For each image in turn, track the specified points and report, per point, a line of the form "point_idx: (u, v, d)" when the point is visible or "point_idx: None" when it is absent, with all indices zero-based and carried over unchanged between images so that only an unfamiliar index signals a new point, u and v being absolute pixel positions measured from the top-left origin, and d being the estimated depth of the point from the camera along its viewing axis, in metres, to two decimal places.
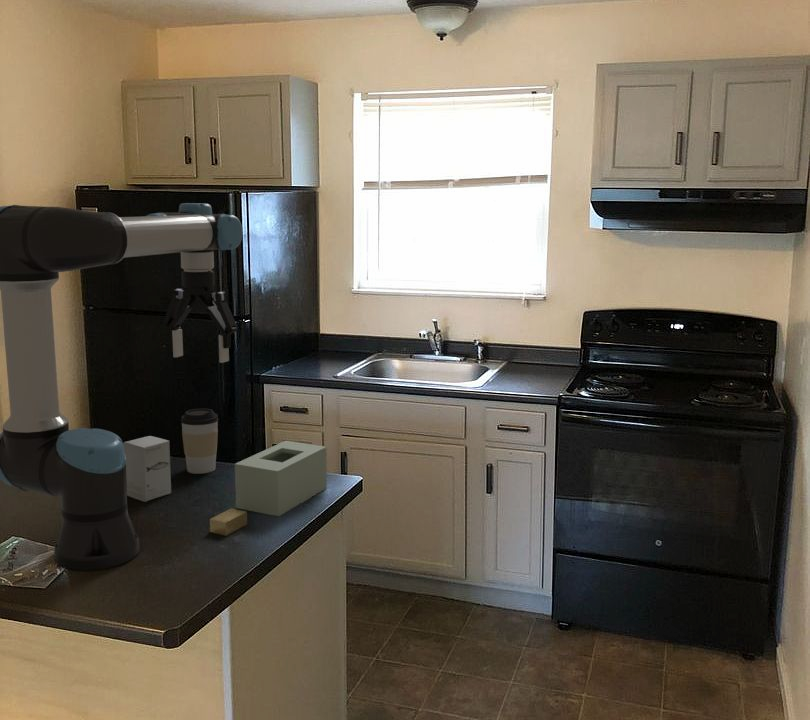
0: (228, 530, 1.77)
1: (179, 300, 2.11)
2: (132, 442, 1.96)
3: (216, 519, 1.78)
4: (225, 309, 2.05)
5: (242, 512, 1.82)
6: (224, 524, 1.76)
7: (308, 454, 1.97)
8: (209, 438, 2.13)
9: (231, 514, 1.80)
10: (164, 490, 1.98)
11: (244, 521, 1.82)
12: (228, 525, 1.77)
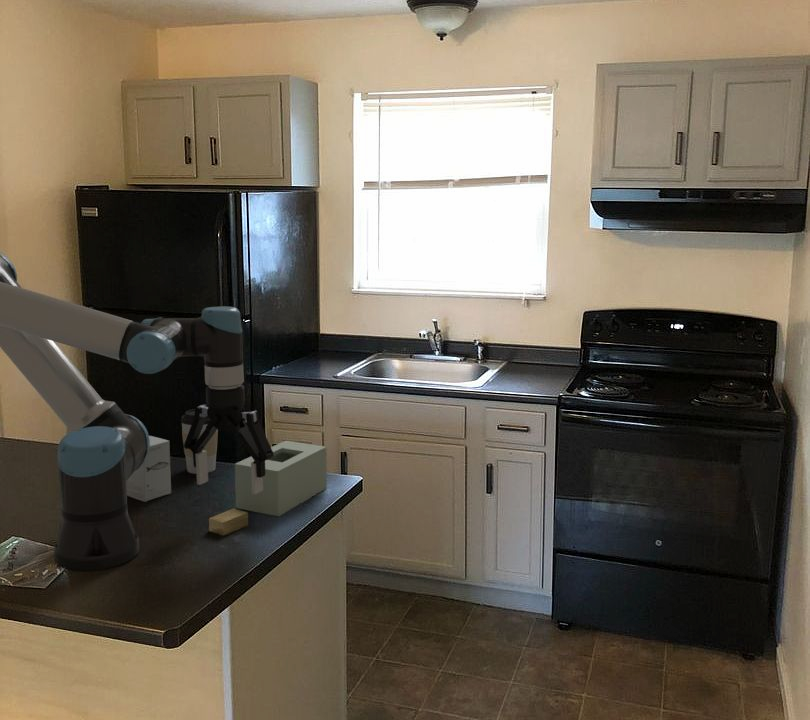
0: (226, 530, 1.77)
1: (203, 418, 1.79)
2: None
3: (215, 518, 1.78)
4: (258, 432, 1.73)
5: (243, 513, 1.81)
6: (222, 524, 1.76)
7: (308, 454, 1.97)
8: None
9: (231, 514, 1.80)
10: (164, 490, 1.98)
11: (244, 522, 1.81)
12: (226, 525, 1.77)
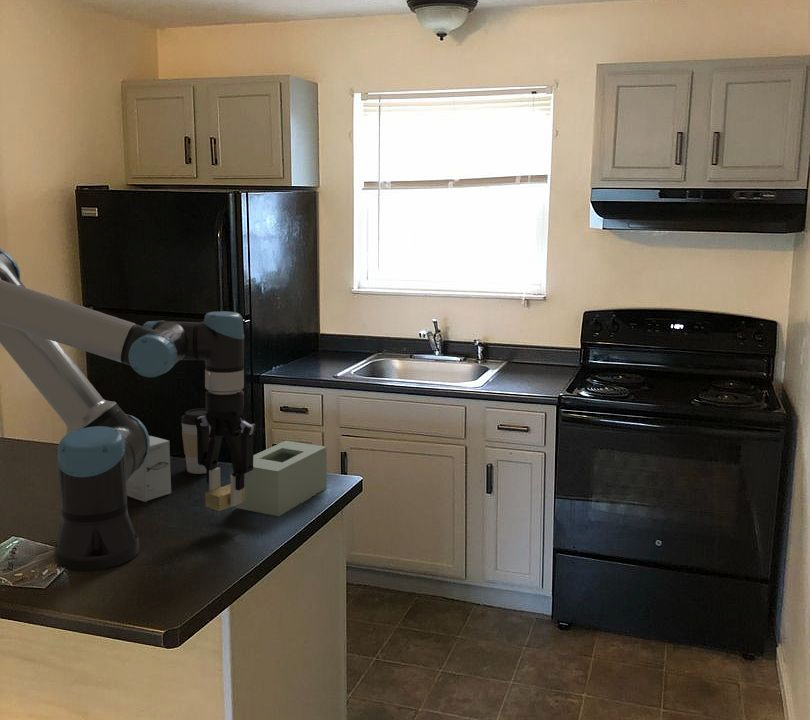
0: (222, 505, 1.76)
1: (206, 428, 1.79)
2: None
3: (211, 493, 1.77)
4: (248, 446, 1.74)
5: None
6: (218, 498, 1.75)
7: (308, 454, 1.97)
8: (209, 438, 2.13)
9: (228, 489, 1.79)
10: (164, 490, 1.98)
11: None
12: (222, 499, 1.76)
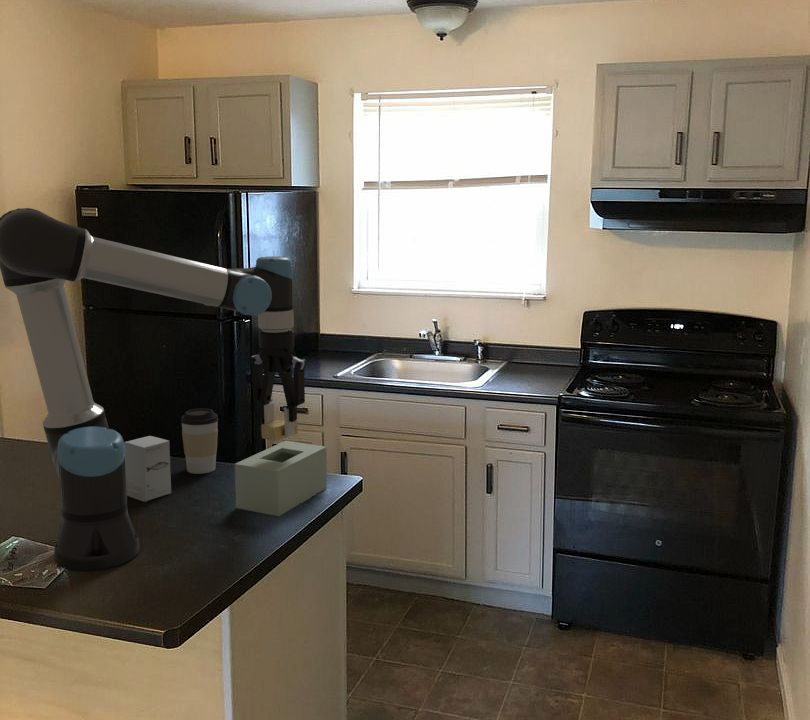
0: (277, 435, 1.91)
1: (259, 366, 1.93)
2: (132, 442, 1.96)
3: (267, 425, 1.91)
4: (300, 380, 1.88)
5: None
6: (273, 429, 1.90)
7: (308, 454, 1.97)
8: (209, 438, 2.13)
9: (282, 422, 1.94)
10: (164, 490, 1.98)
11: None
12: (277, 430, 1.90)
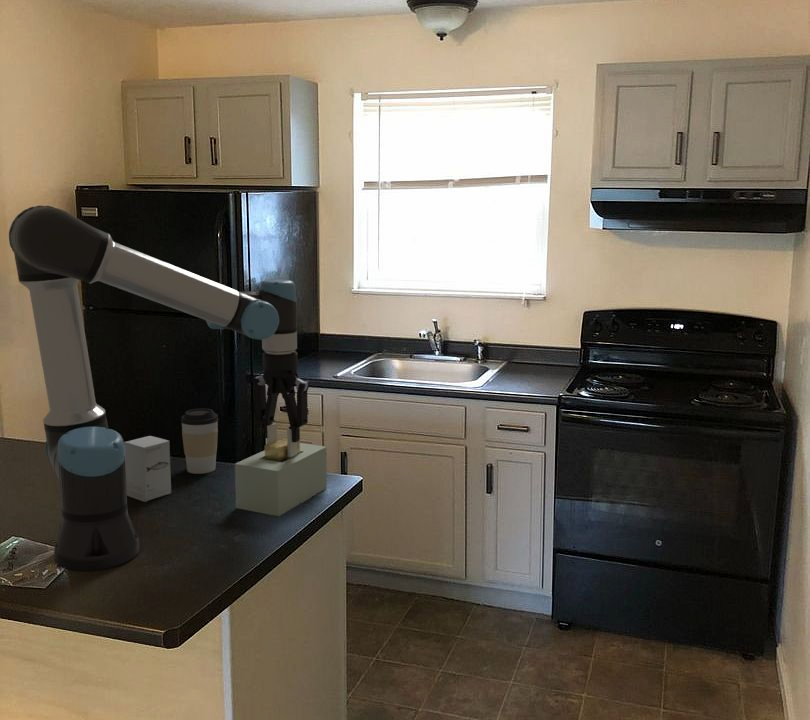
0: (281, 456, 1.93)
1: (263, 387, 1.96)
2: (132, 442, 1.96)
3: (270, 445, 1.94)
4: (303, 401, 1.91)
5: None
6: (276, 449, 1.92)
7: (308, 454, 1.97)
8: (209, 438, 2.13)
9: (284, 442, 1.96)
10: (164, 490, 1.98)
11: None
12: (280, 450, 1.93)
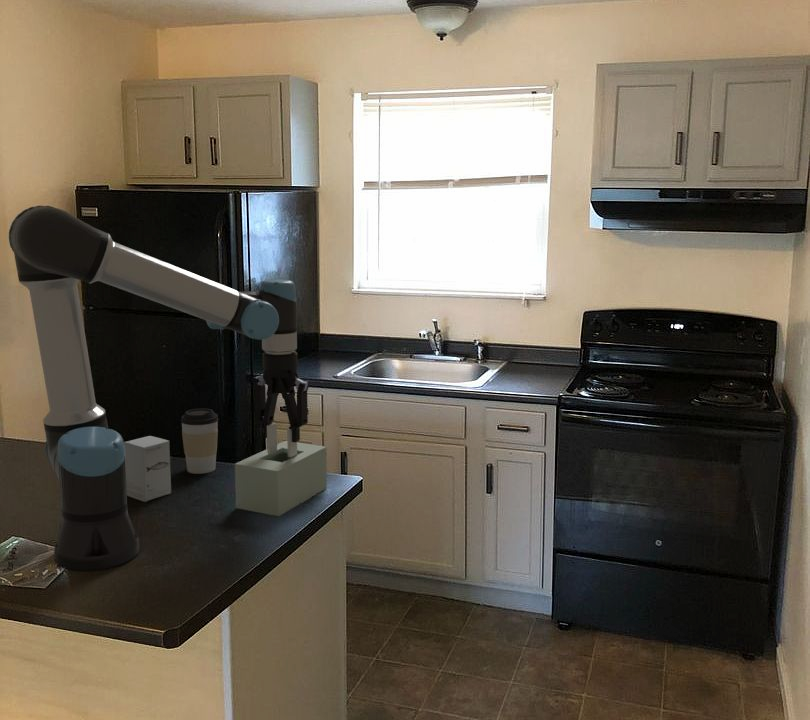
0: None
1: (263, 387, 1.96)
2: (132, 442, 1.96)
3: None
4: (303, 401, 1.91)
5: None
6: None
7: (308, 454, 1.97)
8: (209, 438, 2.13)
9: None
10: (164, 490, 1.98)
11: None
12: None
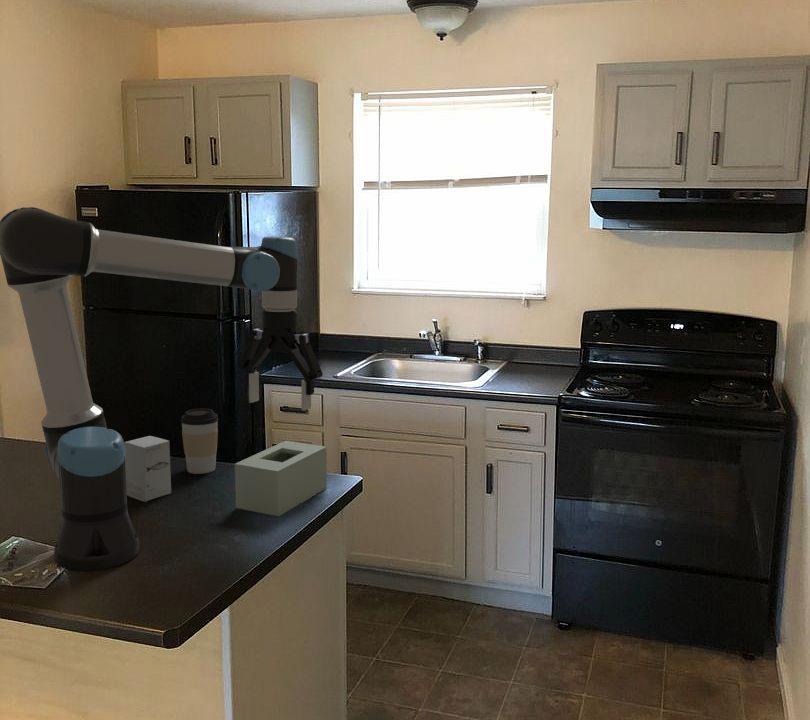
0: None
1: (257, 341, 1.94)
2: (132, 442, 1.96)
3: None
4: (309, 352, 1.88)
5: None
6: None
7: (308, 454, 1.97)
8: (209, 438, 2.13)
9: None
10: (164, 490, 1.98)
11: None
12: None
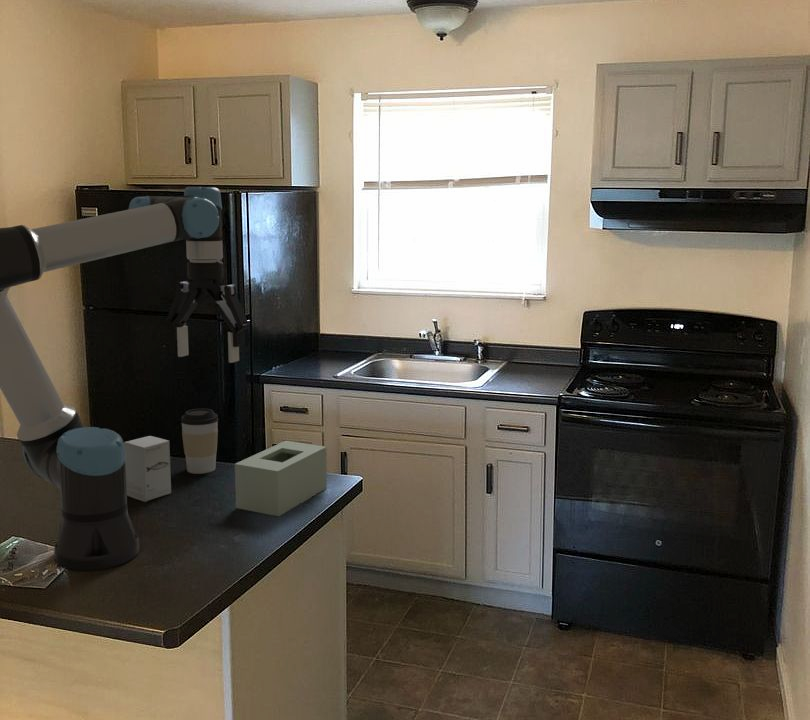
0: None
1: (184, 294, 1.92)
2: (132, 442, 1.96)
3: None
4: (235, 304, 1.86)
5: None
6: None
7: (308, 454, 1.97)
8: (209, 438, 2.13)
9: None
10: (164, 490, 1.98)
11: None
12: None
